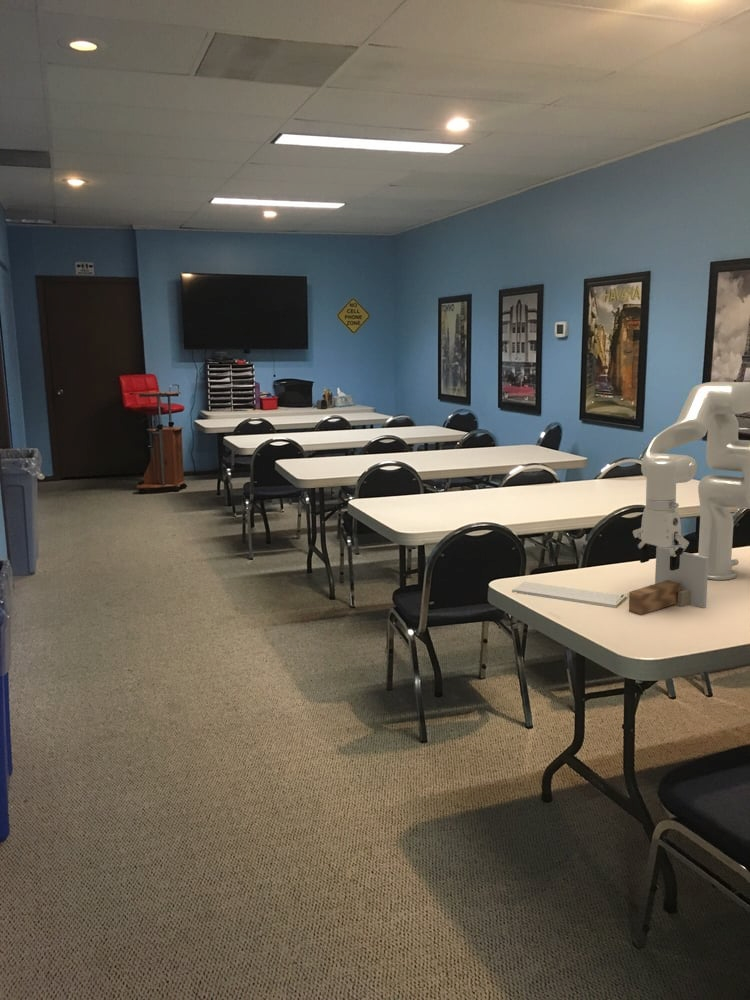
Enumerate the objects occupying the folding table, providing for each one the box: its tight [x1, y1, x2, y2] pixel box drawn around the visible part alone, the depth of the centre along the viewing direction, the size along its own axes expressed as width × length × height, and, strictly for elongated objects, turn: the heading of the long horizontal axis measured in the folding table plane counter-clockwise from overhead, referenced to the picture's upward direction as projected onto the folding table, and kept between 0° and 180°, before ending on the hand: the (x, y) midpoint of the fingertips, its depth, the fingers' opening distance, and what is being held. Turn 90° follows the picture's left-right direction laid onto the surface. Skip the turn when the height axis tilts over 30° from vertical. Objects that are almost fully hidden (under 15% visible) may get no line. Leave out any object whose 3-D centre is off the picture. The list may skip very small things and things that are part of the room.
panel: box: [654, 546, 709, 609], centre depth 217 cm, size 5×16×14 cm, turn 32°
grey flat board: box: [511, 581, 629, 609], centre depth 227 cm, size 31×3×12 cm
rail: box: [628, 580, 680, 616], centre depth 213 cm, size 16×4×6 cm, turn 122°
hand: (659, 565), depth 212 cm, fingers open, 9 cm apart
